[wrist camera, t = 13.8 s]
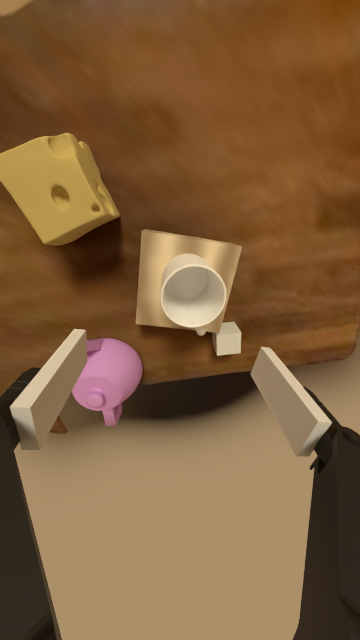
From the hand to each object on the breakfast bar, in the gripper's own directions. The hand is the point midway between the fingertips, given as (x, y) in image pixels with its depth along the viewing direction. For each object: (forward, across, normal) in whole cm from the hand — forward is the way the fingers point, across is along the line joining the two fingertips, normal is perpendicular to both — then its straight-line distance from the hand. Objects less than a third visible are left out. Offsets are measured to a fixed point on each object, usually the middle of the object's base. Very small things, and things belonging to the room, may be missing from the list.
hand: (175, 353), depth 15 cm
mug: (+22, +4, -1) cm, 22 cm away
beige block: (+27, +14, -12) cm, 33 cm away
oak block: (+27, +3, -1) cm, 27 cm away
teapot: (+28, -11, -23) cm, 38 cm away
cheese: (+28, -16, +10) cm, 34 cm away
